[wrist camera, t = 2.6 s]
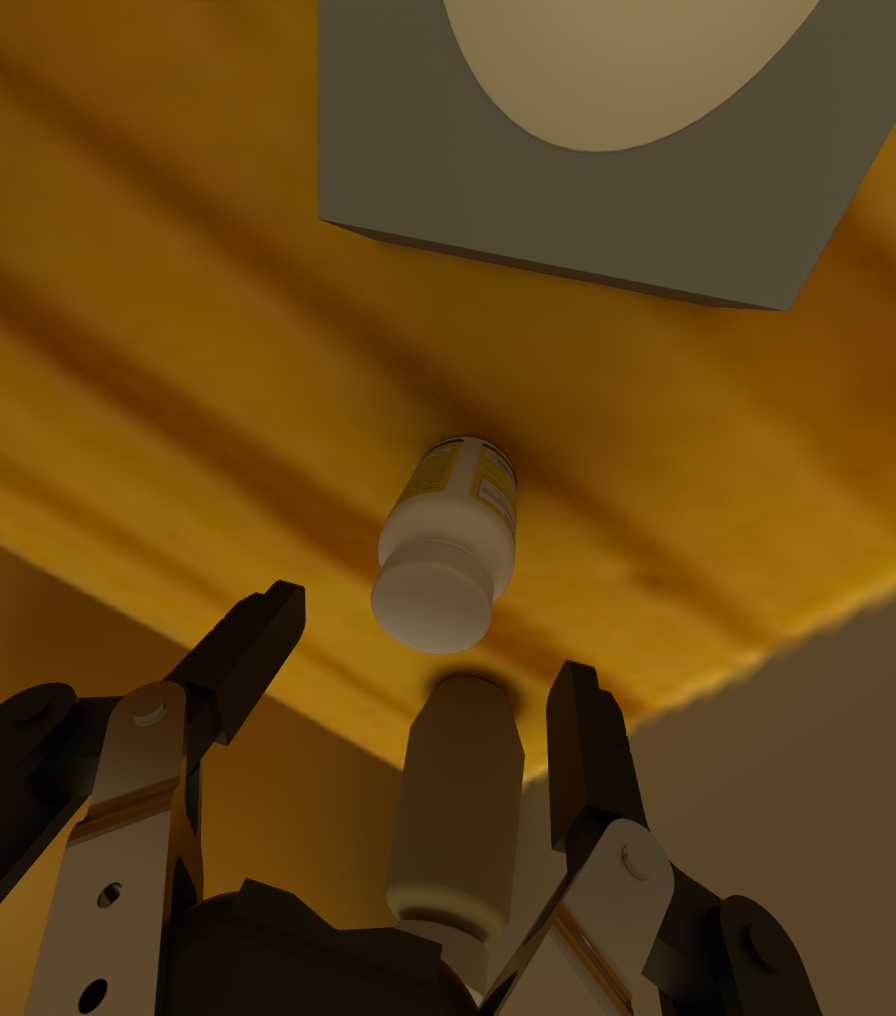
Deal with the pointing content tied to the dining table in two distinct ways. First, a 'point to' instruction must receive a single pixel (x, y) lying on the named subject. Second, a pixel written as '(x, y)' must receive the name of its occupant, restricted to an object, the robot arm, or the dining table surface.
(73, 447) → the dining table surface
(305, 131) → the dining table surface
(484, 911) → the squeeze bottle
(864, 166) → the charcoal stand
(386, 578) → the supplement bottle
